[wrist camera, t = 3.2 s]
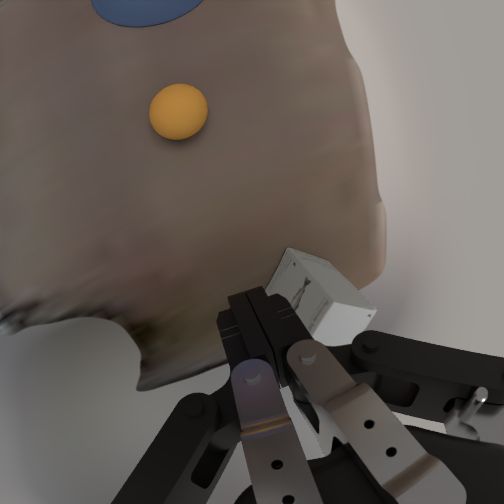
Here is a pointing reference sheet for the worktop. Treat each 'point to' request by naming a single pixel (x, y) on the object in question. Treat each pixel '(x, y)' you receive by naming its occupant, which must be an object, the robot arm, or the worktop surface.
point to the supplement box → (321, 298)
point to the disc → (142, 11)
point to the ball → (178, 111)
